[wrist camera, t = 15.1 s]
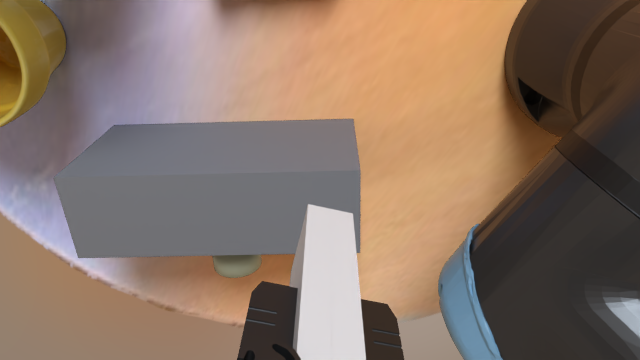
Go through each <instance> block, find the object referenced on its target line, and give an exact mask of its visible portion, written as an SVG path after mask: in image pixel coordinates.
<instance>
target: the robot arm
mask: <svg viewBox="0 0 640 360" xmlns="http://www.w3.org/2000/svg"><path fill="white" fill-rule="evenodd" d="M505 71H506V78H507V83H508V87H509V89H510V92H511V94H512V96H513V98H514V100H515V102H516V103H517V105H518V106H519V108H520V109H521V110H522V111H523V112H524V113H525V114H526V115H527V116H528V117H529V118H530V119H531V120H533V121H534V122H535V123H536V124H537V125H539V126H540V127H541V128H543V129H544V130H546V131H548V132H550V133H552V134H554V135H557V136H559V137H562V139H561V141H560V142H559V143H558V144H557V145H555V146H554V147H553V148H552V149H551V150H550V152H549V153H548V154H547V155H546V156H545V157H544V158H543V159H542V160H541V161H540V162H539V163H538V164H537V165H536V166H535V167H534V168H533V169H532V170H531V171H530V172H529V173H528V174H527V175H526V176H525V178H524V179H523V180H522V181H521V182H520V183H519V184H518V185H517V186H516V187H515V188H514V189H513V190H512V191H511V192H510V193H509V194H508V195H507V196H506V197H505V198H504V199H503V200H502V201H501V203H500V204H499V205H498V206H497V207H496V208H495V209H494V210H493V211H492V212H491V213H490V214H489V215H488V216H487V217H486V218H485V219H484V220H483V221H482V222H481V223H480V224H476V225H475V226H473V227H472V228H471V229H470V231H469V232H468V234H467V237H466V239H465V241H464V242H463V243H462V244H461V245H460V246H459V248H458V249H457V250H456V251H455V252H454V254H453V255H452V256H451V257H450V258H449V259H448V261H447V262H446V263H445V265H444V266H443V268H442V270H441V273H440V276H439V281H438V292H439V296H440V300H439V303H440V308H441V312H442V315H443V318H444V321H445V324H446V326H447V329H448V331H449V333H450V335H451V338H452V340H453V342H454V344H455V345H456V347H457V349H458V350H459V352H460V354H461V356H462V357H463V359H464V360H640V0H527V2H526V3H525V5H524V6H523V7H522V9H521V11H520V13H519V14H518V16H517V18H516V20H515V22H514V25H513V27H512V30H511V32H510V35H509V39H508V43H507V48H506V55H505ZM237 360H404V356H403V351H402V349H401V340H400V336H399V328H398V323H397V318H396V317H395V315H394V314H393V312H392V311H391V309H390V308H389V306H388V305H387V304H384V303H378V302H373V301H368V300H363V299H361V298H360V287H359V276H358V265H357V253H356V242H355V231H354V220H353V213H348V212H344V211H339V210H334V209H329V208H324V207H320V206H315V205H310V204H308V206H307V210H306V214H305V218H304V222H303V226H302V230H301V234H300V238H299V242H298V246H297V250H296V254H295V258H294V262H293V266H292V269H291V277H290V286H285V285H279V284H274V283H269V282H264V281H262V282H261V283H260V284H259V285H258V286H257V287H256V288H255V289H254V290H253V291H252V294H251V299H250V303H249V308H248V312H247V317H246V322H245V326H244V331H243V336H242V340H241V345H240V349H239V354H238V358H237Z"/></svg>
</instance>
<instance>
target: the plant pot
mask: <svg viewBox="0 0 640 360" xmlns="http://www.w3.org/2000/svg"><path fill="white" fill-rule="evenodd" d="M65 51H66V37H65V33H64V30H63V27H62V25H61V23H60V21H59V19H58V18H57V16H56V15H55V14H54V12H53V11H52V10H51V9H50V8H49V7H47V6H46V5H45V4H44V3H43V2H41V1H40V0H0V127H2V126H4V125H6V124H8V123H9V122H11V121H13V120H15V119H16V118H18V117H19V116H21V115H22V114H24V113H25V112H27V111H28V110H29V109H31V108H32V107H33V106H34V105H35V104H36V103H37V102H38V101H39V100H40V99H41V97H42V96H43V94H44V92H45V90H46V88H47V85H48V82H49V77H50V75H51V74H52V72H53V71H54V70H55V69H56V68H57V67H58V65H59V64H60V63H61V61H62V59H63V57H64V55H65Z"/></svg>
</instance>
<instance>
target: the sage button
mask: <svg viewBox="0 0 640 360" xmlns="http://www.w3.org/2000/svg"><path fill="white" fill-rule="evenodd" d="M212 256H213V263H214V268H215V271H216V272H217V273H218V274H219V275H221V276H224V277H229V278H238V277H244V276H247V275H249V274H251V273H253V272H255V271H256V270H257V269H258V268H259V267H260V265H261V263H262V258H261V255H212Z"/></svg>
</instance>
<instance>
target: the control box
mask: <svg viewBox="0 0 640 360" xmlns="http://www.w3.org/2000/svg"><path fill="white" fill-rule="evenodd" d="M54 181H55V184H56V187H57V191H58V194H59V197H60V200H61V204H62V207H63V210H64V213H65V217H66V220H67V223H68V226H69V230H70V233H71V236H72V239H73V242H74V246H75V249H76V252H77V255H78V258H107V257H160V256H212V255H265V254H296V250H297V246H298V242H299V238H300V234H301V230H302V226H303V222H304V218H305V214H306V210H307V206H308V204H310V205H315V206H320V207H324V208H329V209H334V210H339V211H344V212H348V213H353V220H354V231H355V242H356V253H360V164H359V157H358V149H357V142H356V135H355V128H354V121H353V119H326V120H289V121H252V122H215V123H178V124H141V125H114V126H113V127H112V128H110V129H109V130H108V131H107V132H106V133H105V134H103V135H102V136H101V137H100V138H99V139H98V140H96V141H95V142H94V143H93V144H92V145H91V146H90V147H88V148H87V149H86V150H85V151H84V152H83V153H81V154H80V155H79V156H78V157H77V158H76V159H75V160H73V161H72V162H71V163H70V164H69V165H68V166H66V167H65V168H64V169H63V170H62V171H61V172H59V173H58V174H57V175H56V176H55V177H54Z"/></svg>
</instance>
